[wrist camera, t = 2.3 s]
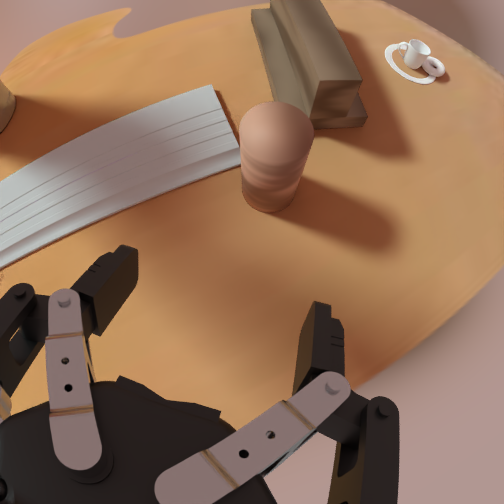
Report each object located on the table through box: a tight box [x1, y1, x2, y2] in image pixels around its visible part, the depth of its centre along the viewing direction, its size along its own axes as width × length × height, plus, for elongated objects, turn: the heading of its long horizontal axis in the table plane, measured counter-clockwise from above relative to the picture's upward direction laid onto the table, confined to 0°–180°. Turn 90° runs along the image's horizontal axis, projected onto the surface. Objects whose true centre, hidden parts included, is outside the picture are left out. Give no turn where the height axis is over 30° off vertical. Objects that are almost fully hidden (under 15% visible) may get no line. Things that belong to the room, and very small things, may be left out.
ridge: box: [251, 0, 368, 129], centre depth 30 cm, size 9×20×8 cm, turn 9°
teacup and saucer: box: [385, 39, 445, 84], centre depth 33 cm, size 9×8×4 cm
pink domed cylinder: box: [239, 101, 314, 213], centre depth 25 cm, size 5×5×10 cm
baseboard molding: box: [0, 84, 241, 269], centre depth 30 cm, size 31×3×12 cm
